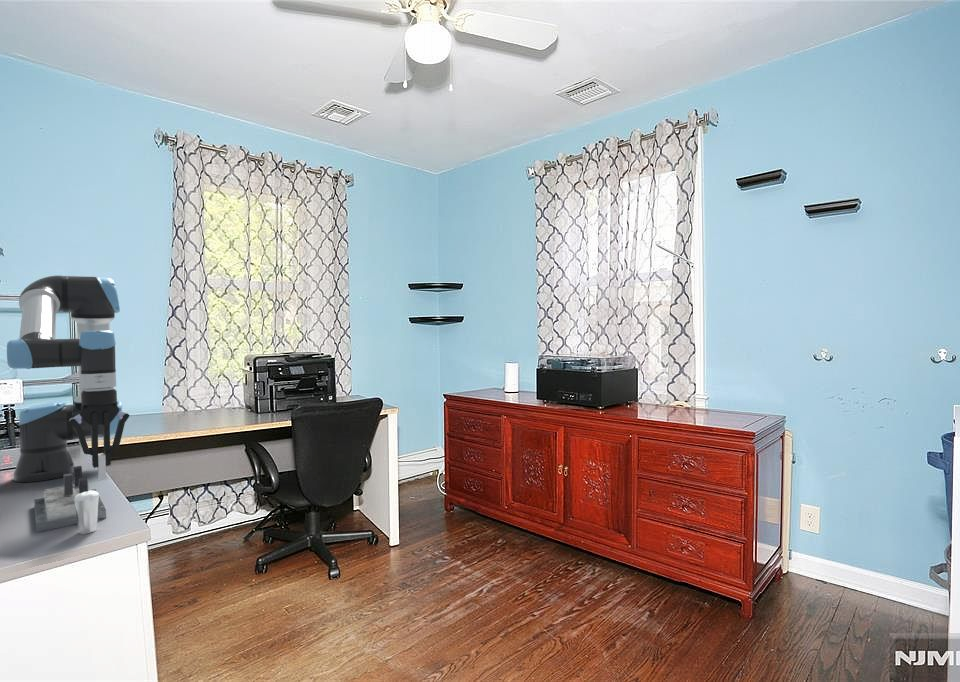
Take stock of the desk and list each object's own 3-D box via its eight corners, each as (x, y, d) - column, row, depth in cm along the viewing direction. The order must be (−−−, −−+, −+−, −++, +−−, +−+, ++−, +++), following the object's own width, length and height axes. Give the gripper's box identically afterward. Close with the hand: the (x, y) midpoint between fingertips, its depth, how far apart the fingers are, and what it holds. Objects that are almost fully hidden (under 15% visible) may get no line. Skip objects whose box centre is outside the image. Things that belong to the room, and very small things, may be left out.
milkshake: (82, 527, 121) (81, 485, 121) (105, 527, 121) (103, 484, 121) (66, 535, 117) (64, 491, 117) (89, 535, 117) (88, 490, 116)
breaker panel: (34, 507, 137) (33, 470, 137) (95, 496, 146) (94, 461, 146) (36, 532, 119) (35, 490, 119) (106, 517, 128) (104, 478, 128)
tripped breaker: (64, 493, 133) (63, 474, 133) (72, 491, 134) (71, 473, 134) (64, 495, 131) (64, 476, 131) (72, 494, 132) (72, 475, 132)
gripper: (68, 392, 129) (71, 487, 130) (131, 388, 138) (133, 476, 138) (66, 390, 135) (69, 481, 135) (126, 386, 144) (129, 471, 144)
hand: (102, 478), depth 137 cm, fingers closed
